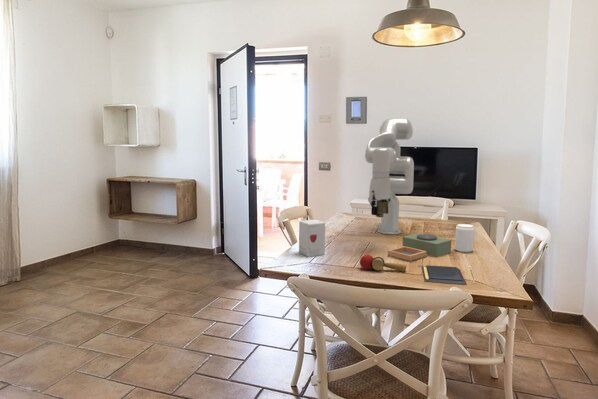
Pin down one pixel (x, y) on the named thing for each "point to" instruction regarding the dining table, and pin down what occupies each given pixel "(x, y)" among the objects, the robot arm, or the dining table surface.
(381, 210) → the dark bronze domed piece
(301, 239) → the supplement box
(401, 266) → the kendama
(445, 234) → the dining table surface
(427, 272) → the wallet
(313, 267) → the dining table surface
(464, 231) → the beverage can
